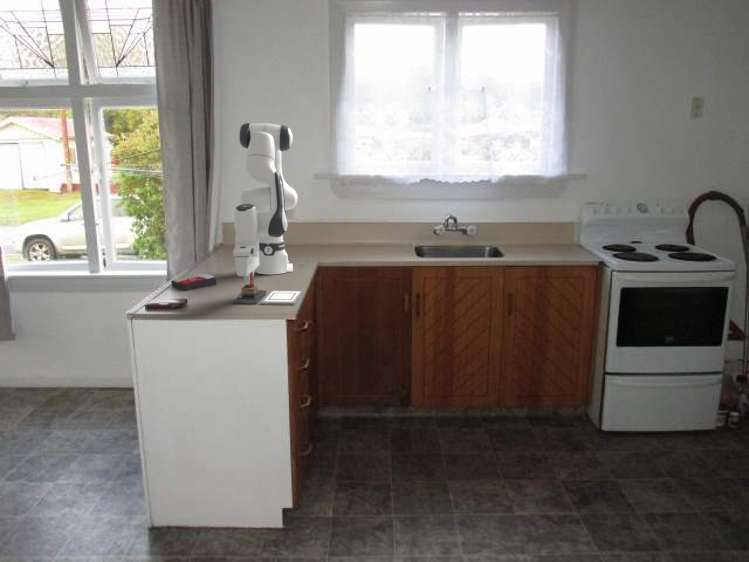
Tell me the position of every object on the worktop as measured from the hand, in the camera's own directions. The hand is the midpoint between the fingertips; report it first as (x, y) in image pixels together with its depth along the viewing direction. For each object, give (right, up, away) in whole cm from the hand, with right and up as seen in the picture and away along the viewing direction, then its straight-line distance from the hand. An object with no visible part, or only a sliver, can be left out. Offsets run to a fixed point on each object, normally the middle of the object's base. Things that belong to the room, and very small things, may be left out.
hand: (249, 282), depth 237 cm
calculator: (-28, -2, +23) cm, 36 cm away
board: (+12, -6, +2) cm, 14 cm away
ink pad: (0, -6, +1) cm, 6 cm away
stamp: (0, -4, +1) cm, 4 cm away
